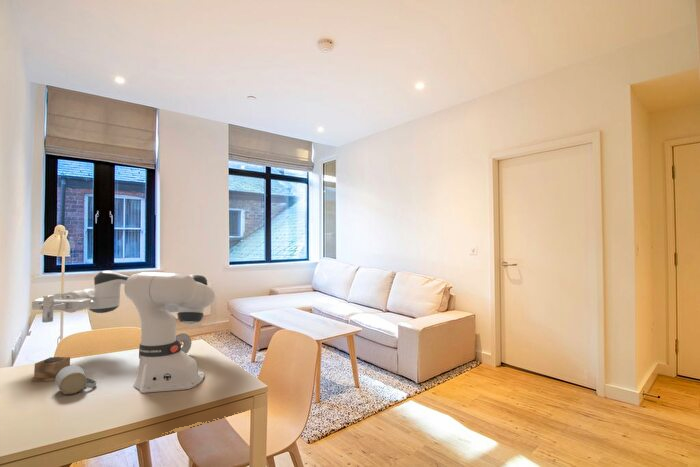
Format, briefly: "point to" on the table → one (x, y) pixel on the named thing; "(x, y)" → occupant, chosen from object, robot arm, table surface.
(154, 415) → the table surface
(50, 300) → the brushed metal cylinder
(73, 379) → the ceramic mug
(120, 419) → the table surface
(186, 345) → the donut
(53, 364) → the walnut stand
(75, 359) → the table surface
